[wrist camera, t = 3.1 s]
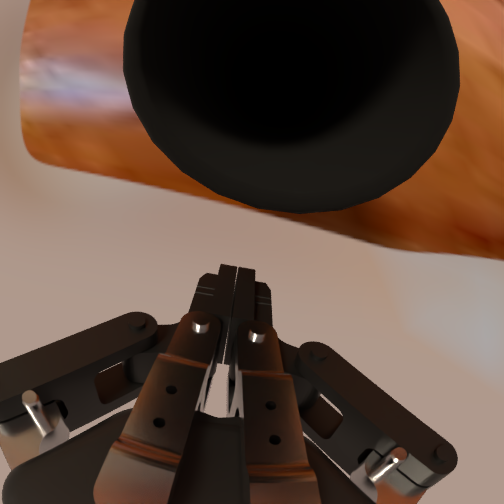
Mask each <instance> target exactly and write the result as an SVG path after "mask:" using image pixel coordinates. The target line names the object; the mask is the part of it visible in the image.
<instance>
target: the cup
mask: <svg viewBox="0 0 504 504" xmlns="http://www.w3.org/2000/svg"><path fill="white" fill-rule="evenodd" d="M123 72H124V76H125V80H126V84H127V88H128V92H129V95H130V99H131V103H132V106H133V109H134V111H135V112H136V114H137V116H138V117H139V119H140V121H141V123H142V124H143V126H144V128H145V130H146V131H147V133H148V135H149V136H150V138H151V140H152V141H153V143H154V144H155V145H156V146H157V147H158V148H159V149H160V150H161V151H162V152H163V153H164V154H165V155H166V156H167V157H168V158H169V159H170V160H171V161H172V162H173V163H174V164H175V165H176V166H177V167H178V168H179V169H180V170H181V171H182V172H183V173H185V174H187V175H188V176H190V177H191V178H193V179H195V180H196V181H198V182H199V183H201V184H202V185H204V186H206V187H207V188H209V189H210V190H212V191H213V192H215V193H217V194H219V195H222V196H225V197H227V198H230V199H233V200H236V201H239V202H241V203H244V204H247V205H250V206H252V207H255V208H258V209H266V210H274V211H282V212H289V213H297V214H304V213H315V212H326V211H338V210H343V209H346V208H349V207H352V206H355V205H358V204H361V203H364V202H367V201H370V200H374V199H377V198H379V197H381V196H382V195H384V194H386V193H387V192H389V191H390V190H392V189H394V188H395V187H397V186H398V185H400V184H402V183H403V182H405V181H406V180H408V179H409V178H411V177H412V176H413V175H414V174H415V173H416V172H417V171H418V170H419V168H420V167H421V166H422V165H423V164H424V163H425V162H426V161H427V160H428V159H429V158H430V157H431V156H432V155H433V154H434V153H435V151H436V150H437V148H438V146H439V144H440V142H441V140H442V139H443V137H444V135H445V133H446V131H447V129H448V127H449V125H450V124H451V122H452V119H453V115H454V111H455V106H456V102H457V98H458V93H459V88H460V70H459V51H458V47H457V44H456V40H455V37H454V33H453V30H452V27H451V24H450V20H449V17H448V15H447V14H446V12H445V10H444V8H443V6H442V5H441V3H440V1H439V0H134V3H133V6H132V9H131V12H130V15H129V19H128V22H127V25H126V29H125V32H124V46H123Z"/></svg>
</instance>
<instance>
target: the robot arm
mask: <svg viewBox="0 0 504 504" xmlns="http://www.w3.org/2000/svg"><path fill="white" fill-rule="evenodd" d="M236 273H237V267H236V266H230V265H224V264H221V265H220V269H219V273H218V275H216V274H210V273H206V274H205V275H203V276H202V277H201V278H200V279H199V282H198V285H197V288H196V291H195V294H194V297H193V300H192V303H191V306H190V309H189V312H188V313H187V314H185V315H184V316H183V317H182V318H181V321H180V322H179V323H176V324H172V325H157V321H156V320H155V319H154V318H153V317H152V316H151V315H149V314H146V313H143V312H130V313H127V314H124V315H122V316H119V317H117V318H114V319H112V320H109V321H107V322H104V323H101V324H99V325H97V326H94V327H91V328H89V329H86V330H84V331H81V332H79V333H76V334H74V335H71V336H69V337H66V338H64V339H61V340H58V341H56V342H53V343H51V344H48V345H46V346H43V347H41V348H38V349H36V350H33V351H30V352H28V353H25V354H23V355H20V356H17V357H15V358H13V359H10V360H7V361H5V362H2V363H0V447H1V449H2V451H3V453H4V456H5V458H6V460H7V462H8V464H9V467H10V469H11V472H10V473H9V475H8V476H7V479H6V480H5V482H4V485H3V490H2V501H3V504H417V503H418V501H419V500H420V499H421V497H422V496H423V495H424V493H425V492H426V490H427V489H429V488H430V487H432V486H433V485H434V484H436V483H437V482H439V481H440V480H441V479H442V478H444V477H445V476H447V475H448V474H449V473H450V472H452V471H453V470H454V468H455V467H456V465H457V461H458V457H457V453H456V451H455V449H454V447H453V446H452V445H451V444H450V443H449V442H448V441H446V440H445V439H444V438H443V437H441V436H440V435H439V434H437V433H436V432H435V431H433V430H432V429H431V428H430V427H428V426H427V425H426V424H424V423H423V422H422V421H420V420H419V419H418V418H417V417H416V416H414V415H413V414H412V413H411V412H409V411H408V410H407V409H405V408H404V407H403V406H402V405H401V404H399V403H398V402H397V401H395V400H394V399H393V398H392V397H390V396H389V395H388V394H387V393H385V392H384V391H383V390H382V389H381V388H379V387H378V386H377V385H376V384H374V383H373V382H372V381H371V380H369V379H368V378H367V377H366V376H364V375H363V374H362V373H361V372H360V371H358V370H357V369H356V368H355V367H353V366H352V365H351V364H350V363H349V362H347V361H346V360H345V359H343V357H341V356H340V355H339V354H338V353H336V352H335V351H334V350H333V349H332V348H330V347H329V346H327V345H325V344H323V343H320V342H306V343H304V344H302V345H301V346H300V348H297V347H294V346H291V345H289V344H286V343H284V342H283V341H281V340H280V339H279V338H278V336H277V332H276V331H275V329H274V328H273V325H272V306H271V290H270V289H269V287H268V286H267V284H266V283H263V282H257V281H255V270H254V269H248V268H242V267H239V268H238V273H237V279H236ZM235 280H236V284H235ZM234 287H235V289H234ZM227 333H228V336H227ZM226 339H227V343H226ZM225 344H226V351H225V359H224V364H226V365H229V373H228V378H227V417H226V418H217V417H214V416H211V415H208V414H206V413H204V410H205V407H206V403H207V399H208V395H209V392H210V388H211V384H212V380H213V375H214V374H215V372H216V367H217V363H220V364H222V361H223V355H224V349H225ZM120 362H122V363H120ZM118 363H120V364H118ZM115 364H117V365H115ZM113 365H115V366H113ZM111 366H113V367H111ZM109 367H111V368H109ZM107 368H109V369H107ZM105 369H107V370H105ZM103 370H105V371H103ZM101 371H103V372H101ZM99 372H100V373H99ZM320 394H323V395H324V396H325V397H326V398H327V399H328V400H329V401H330V402H331V403H333V404H334V405H335V406H336V407H337V408H338V409H339V410H340V411H341V413H342V415H343V416H342V415H341V414H339V413H338V412H337V411H336V410H335V409H334V408H333V407H332V406H330V404H328V403H327V402H326V401H325V400H324V399H323V398H322V397H321V396H320ZM137 397H138V398H137ZM135 398H137V400H136V403H135V405H134V407H133V408H131V409H127V410H124V411H121V412H119V413H116V414H114V415H113V416H111V417H109V418H107V419H106V420H104V421H102V422H100V423H98V424H97V425H95V426H93V427H91V428H90V429H88V430H86V431H84V432H82V433H80V434H79V435H77V436H75V437H73V438H71V439H69V432H71V431H73V430H75V429H77V428H79V427H82V426H84V425H85V424H88V423H90V422H92V421H94V420H95V419H97V418H99V417H101V416H103V415H105V414H107V413H109V412H111V411H113V410H115V409H117V408H118V407H120V406H122V405H124V404H126V403H128V402H130V401H132V400H133V399H135ZM303 432H304V433H305V434H306V435H308V437H309V438H311V439H312V441H314V443H316V444H317V445H318V446H319V447H320V448H321V449H322V450H323V451H324V452H325V453H326V454H327V455H328V456H329V457H330V458H331V459H332V460H333V461H335V462H336V463H337V464H338V465H339V466H340V467H341V468H342V469H343V470H344V471H346V472H347V473H348V474H349V475H350V479H349V478H348V477H347V476H346V475H345V474H344V473H343V472H342V471H341V470H340V469H339V468H338V467H337V466H336V465H335V464H334V463H333V462H332V461H331V460H330V459H329V458H328V457H327V456H326V455H325V454H324V453H323V452H322V451H321V450H320V449H319V448H318V447H317V446H316V445H315V444H314V443H313V442H312V441H310V440H309V439H308V438H306V437H305V436H303ZM68 439H69V440H68Z"/></svg>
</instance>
